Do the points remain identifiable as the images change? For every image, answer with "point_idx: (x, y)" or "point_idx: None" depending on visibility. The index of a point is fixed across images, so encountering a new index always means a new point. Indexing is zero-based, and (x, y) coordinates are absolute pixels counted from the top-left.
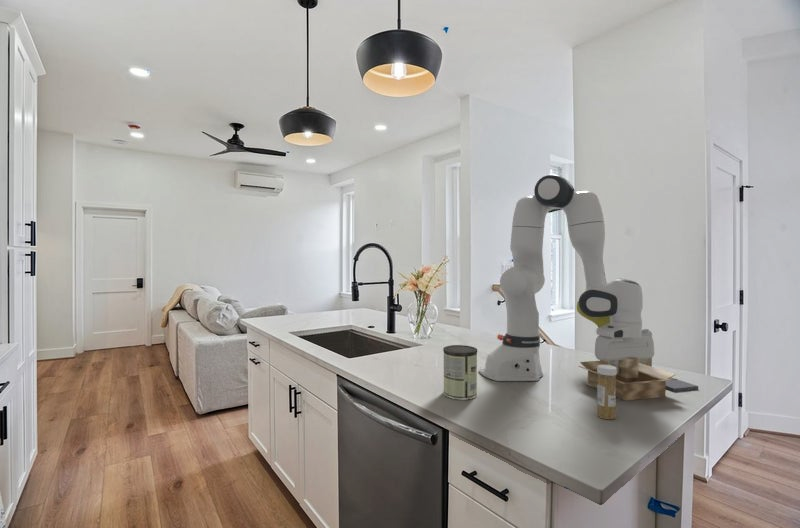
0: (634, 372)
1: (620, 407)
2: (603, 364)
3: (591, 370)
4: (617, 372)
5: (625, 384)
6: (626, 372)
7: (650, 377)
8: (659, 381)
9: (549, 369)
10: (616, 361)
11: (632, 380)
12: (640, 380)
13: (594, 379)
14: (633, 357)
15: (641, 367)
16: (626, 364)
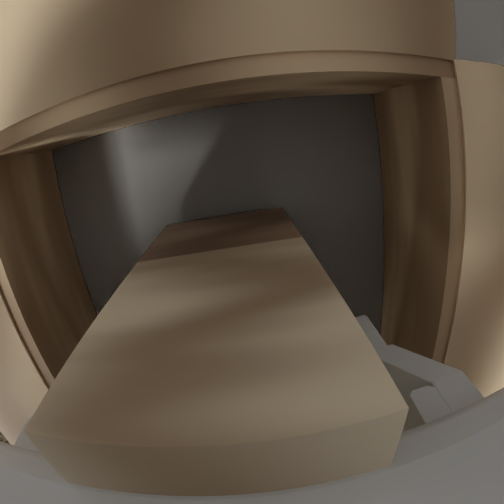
0: (174, 281)
1: (457, 18)
2: None
3: (492, 368)
4: (366, 322)
5: (443, 61)
6: (317, 263)
7: (19, 276)
8: (16, 126)
9: None
10: (458, 403)
11: (212, 242)
12: (77, 335)
13: None
14: (108, 490)
15: (25, 419)
16: (358, 330)
